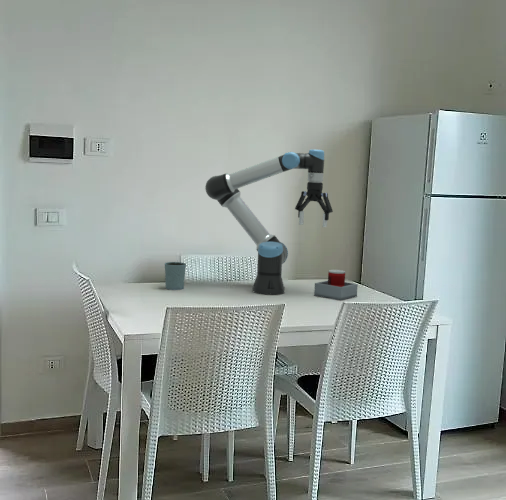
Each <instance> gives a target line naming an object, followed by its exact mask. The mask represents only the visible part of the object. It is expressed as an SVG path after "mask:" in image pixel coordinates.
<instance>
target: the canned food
mask: <svg viewBox="0 0 506 500" xmlns="http://www.w3.org/2000/svg"><path fill="white" fill-rule="evenodd" d="M327 277H328V278H327V281H328V285H332V286H338V287H344V286H345V282H346V271H345V270H342V269H329V270H328V273H327Z"/></svg>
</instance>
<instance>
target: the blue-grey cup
mask: <svg viewBox="0 0 506 500" xmlns="http://www.w3.org/2000/svg"><path fill="white" fill-rule="evenodd" d="M186 266H187V263H185V262H182V261H181V262H179V261H169V262H168V261H167V262H165V263H164V272H165V273H164V274H165V276H164V277H165V279H164V280H165V289H166V290H170V291H180V290H184V289H185V277H186V269H187V267H186Z"/></svg>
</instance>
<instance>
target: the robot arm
mask: <svg viewBox="0 0 506 500" xmlns="http://www.w3.org/2000/svg"><path fill="white" fill-rule="evenodd" d="M294 169H296V170H307V181H308V182H306V190H307V191H306V190H302V191H301V195H300V197H299V199H298V201H297V203H296V205H295V207H294V210H296V211H298V214H297V215H298V216H297V217H298V219H299V222H298V225H299V226H301V225H304V219H305V211H304V209H305V208H306V207H307V206H308V204H309V203H310V202H316V203H318V204H319V206H320V208H321V209H322V211H323V213H322V228H328V221H329V216H330V213H333V212H334V210H333V208H332V205H331V203H330V199H329V194H328V192H323V188H324V187H323V186H324V183H323V181H324V169H325V151H324V150H323V149H309V150H308V153H303V152H302V153H301V152H294V151H290V152H288V151H287V152H285V153H284V154H283V155H280V156H277V157H274V158H271V159H268V160H265V161H263V162H259V163H257V164H254V165H252V166H249V167H246V168H244V169H240V170H237V171H235V172H232V173H228V172H226V173H224V174H220V175H214V176H212V177H210V178H209V179H208V180H207V181H206V183H205V187H204V190H205V192H206V194H207V196H208V197H209V198H210V199H212V200H216V201H217V202H218V204H219V205H220V206H221V207H222V208H226V209H227V210H228V211H229V212H230V213H231V215H232V216H233V218H234V219H235V220H236V222H238V224H239V225H240V226H241V227H242V228H243V230H244V231H245V232H246V233H247V235H248V237H250V240H252V241H253V242H254V243H255V245H256V248H255V250H256V252H257V270H256V271H257V273H256V278H255V280H254V283H253V286H252V292H253V291H254V292H253V293H255V292H257V293H256V294H260V293H261V295H281V294H285V286H284V281H283V277H282V274H283V273H282V272H283V271H282V270H283V264H284V263H285V262H286V261H287V259H288V256H289V251H288V248H287V246H286V245H285V244H284V243H283V242H281V241H280V240H279V239H278V238H277V237H278V236H276V234H270V232H269V231H268V230H267V229H266V227H265V226H264V225H263V223H262V222H261V221H260V220H259V219H258V217H257V215H255V213H254V212H253V211H252V209H250V207H249V206H248V204H246V202H245V201H244V199H243V198H242V197H241V191H240V188H243V187H245V186H248V185H251V184H253V183H257V182H259V181H263V180H265V179H267V178H268V179H269V178H271V177H273V176H276V175H280V174H281V173H284V172H287V171H290V170H294ZM306 196H307V197H306Z"/></svg>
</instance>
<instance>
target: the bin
mask: <svg viewBox="0 0 506 500" xmlns="http://www.w3.org/2000/svg"><path fill="white" fill-rule="evenodd" d="M358 286H359V285H358V283H353V282H347V281H345V286H344V287H338V286H332V285H328V280H324V281H319V282H314V290H313V291H314V293H313V294H314V296H315V297H320V298H325V299H331V300H336V301H343V300H348V299H353V298H356V297H355V296H357V297H358ZM352 297H353V298H352Z"/></svg>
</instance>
